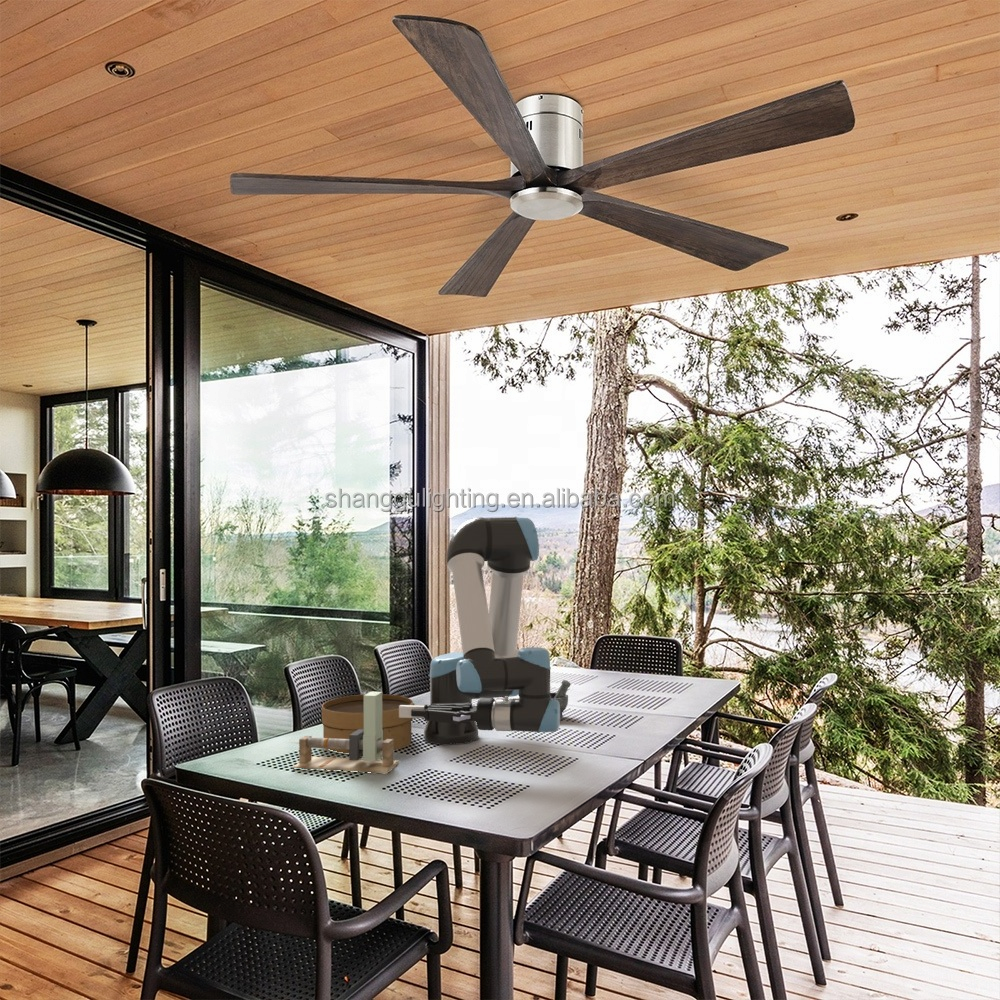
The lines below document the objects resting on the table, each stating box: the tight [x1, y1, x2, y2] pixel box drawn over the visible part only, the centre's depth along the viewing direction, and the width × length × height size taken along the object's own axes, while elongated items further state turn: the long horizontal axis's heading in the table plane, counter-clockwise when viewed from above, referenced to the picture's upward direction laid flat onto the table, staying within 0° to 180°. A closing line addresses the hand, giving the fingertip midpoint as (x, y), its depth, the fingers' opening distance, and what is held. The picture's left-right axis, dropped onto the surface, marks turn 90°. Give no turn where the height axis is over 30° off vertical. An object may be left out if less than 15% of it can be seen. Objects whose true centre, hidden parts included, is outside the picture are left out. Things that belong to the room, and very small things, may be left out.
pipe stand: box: [292, 735, 400, 775], centre depth 197 cm, size 24×9×7 cm, turn 79°
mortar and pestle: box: [550, 679, 572, 720], centre depth 247 cm, size 11×9×12 cm
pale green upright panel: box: [362, 691, 383, 761], centre depth 196 cm, size 3×6×16 cm, turn 169°
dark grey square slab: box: [348, 729, 364, 760], centre depth 196 cm, size 2×6×6 cm, turn 169°
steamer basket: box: [321, 693, 415, 753], centre depth 220 cm, size 25×25×11 cm
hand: (400, 711), depth 194 cm, fingers closed
